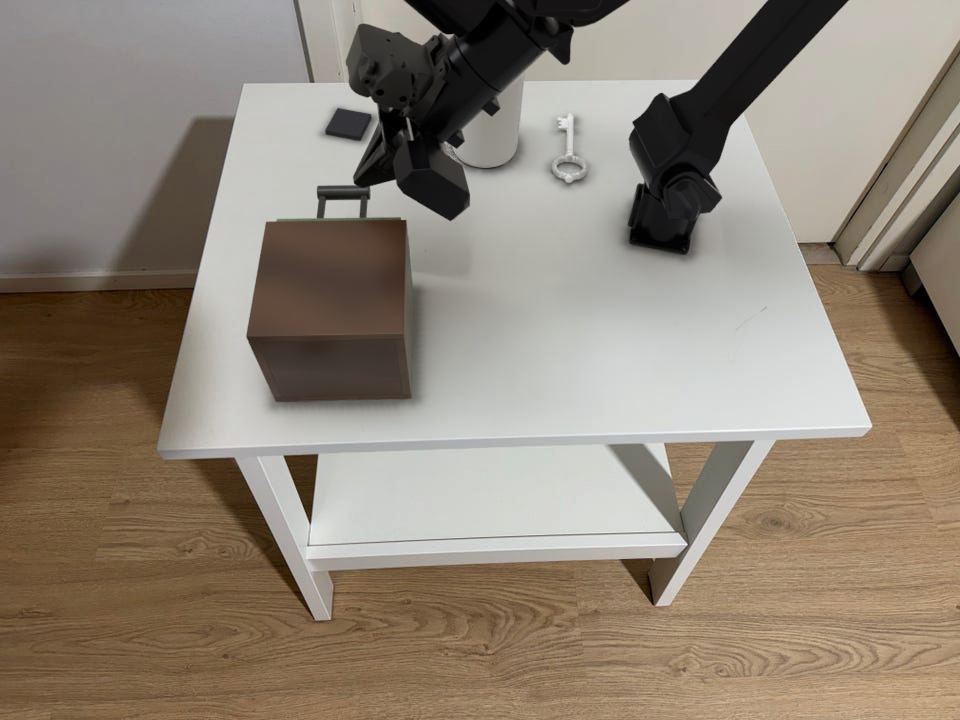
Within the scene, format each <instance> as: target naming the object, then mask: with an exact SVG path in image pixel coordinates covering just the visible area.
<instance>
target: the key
mask: <svg viewBox="0 0 960 720" xmlns="http://www.w3.org/2000/svg"><path fill="white" fill-rule="evenodd" d="M574 119H575V116H574V114H573V113H572V112H570V113H568V114H567V115H566V117H565V118H563V117H562V116H557V122H558V125H557V130H563V131H566V141H565V142H566V145H565V154H564V155H560V156H558V157H556V158H555V159H554V160H553V162H552V163H551V171H552V173H553V174H554V175H555V176H556V177H557V178H559V179H563V180H564V181H565V182H566V183H568V184H570V183H573V181H575V180H580V179H582V178H584V177H585V176H586V174H587V173H588V170H589V166H588V164H587V162H586V160H585V159H583V158H582V157H580V156H576V155H574V123H575V122H574ZM564 162H565V163H575V164H577V165H579V166H580V167H581V170H580V171H578V172H576V173H575V172H573V173H568V172H564V171H562V170H561V169H560V168H558V165H560V164H562V163H564Z"/></svg>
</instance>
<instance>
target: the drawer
mask: <svg viewBox="0 0 960 720" xmlns="http://www.w3.org/2000/svg"><path fill="white" fill-rule="evenodd" d="M371 195H372V193H371V186H369V187H365V188H360V187H359V186H357V185H355V184H354V185H353V184H342V185H341V184H340V185H339V184H337V185H336V184H335V185H334V184H333V185H332V184H331V185H329V184H328V185H317V187H316V198H317V200H318V203H317V211H316V217H314V218H313V217H311V218H310V217H309V218H308V217H307V218H303V217H302V218H276V219H275V221H348V220H402V217H401V216H393V217H392V216H391V217H390V216H388V217H383V216H382V217H381V216H380V217H379V216H378V217H367V216H368V202H369V201H370V200H371ZM327 201H360V204H359V216H358V217H325V214H326V205H327Z"/></svg>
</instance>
